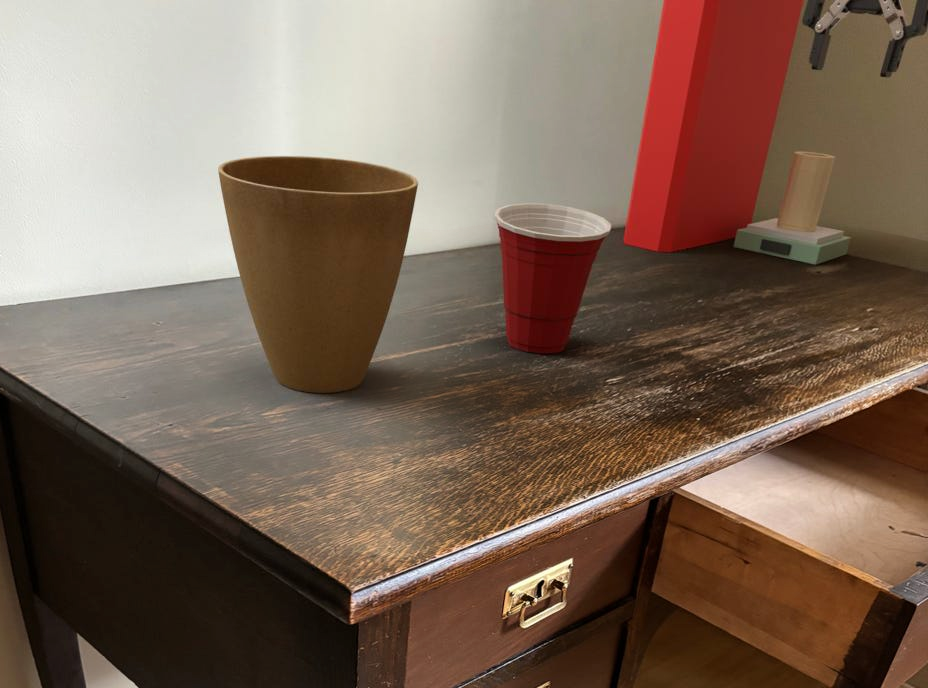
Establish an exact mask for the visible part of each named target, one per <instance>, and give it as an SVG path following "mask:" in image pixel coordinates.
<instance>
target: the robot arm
mask: <svg viewBox="0 0 928 688" xmlns="http://www.w3.org/2000/svg"><path fill="white" fill-rule="evenodd" d="M825 2H826V0H807V2H806V4H805V5H806V6H805V8H804V12H803V16H802V21H801V22H802V25H803V26H806V27H808V28H809V29H812V30H813V32H814V37H813V41H812V46H811V50H810V54H809V57H808V62H809V64H811V70H813V71H822V70H823V69H824V66H825V62H826V58H827V54H828V50H829V47H830V42H831V39H832V35H830V33H831V31H832V30H833V29H834V28H835V27H836V26H837V25H838V24H839V22H841V21H842V20H843V19H845V18H846V17H847V16H848V15H849V14H858V15H865V14H868V15H871V16H881V17H882V15H883V17H884V20H885V21H886V23H887V25H888V27H889V31H890V33H891V36H892V40H888V41H889V42H888V45H887V48H886V52H885V56H884V59H883V62H882V66H881V69H880V73H879V77H880V78H891V77H892V75H893V73H897V71H898V69H899V68H900V65H901V61H902V58H903V54H904V51H905V47H906V44H907V43H908V41H909V40H911V39H912V38H916V37H921V36H924V35H925V34H926V33H927V32H928V0H916V3H915V6H914V11H913V16H912V20H911V23H910V24H909V25H908V23H907V20H906V14H905V11H904V8H903V5H902V2H901V0H834V2H833V3H832V4H831V5H830V6H829V8H828V10H827V11H826V13H825V14H823V15H822V12H823V9H824V7H825ZM821 16H822V17H821Z"/></svg>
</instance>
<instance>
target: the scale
mask: <svg viewBox="0 0 928 688" xmlns="http://www.w3.org/2000/svg"><path fill="white" fill-rule="evenodd" d="M777 221H778V217H775V218H770V219H767V220H762V221H757V222H752V223H751V224H748V225H747V228H743V229H739V230H737V233H736V238H734V243H733V246H732V247H733V248H736V249H740V250H745V251H750V252H754V253H758V254H764V255H768V256H772V257H777V258H781V259H787V260H793V261H796V262H801V263H805V264H810V265H814V266H815V265H819V264H822V263H825V262H828V261H831V260H834V259H837V258H839V257H843V256H846V255H847V253H848V250H849V246H850V243H851V239H852V237H851V236H846V235H844V233H845V231H844V230H839V229H835V228H830V227H824V226H821V225H817V226H816V229H815V231H813V232H801V231H793V230H788V229H783V228H780V227H778V226H777Z"/></svg>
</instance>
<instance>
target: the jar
mask: <svg viewBox="0 0 928 688" xmlns="http://www.w3.org/2000/svg"><path fill="white" fill-rule="evenodd" d="M835 160H836V156H834V155H832V154H826V153H820V152H811V151H794V153H793V157H792V162H791V165H790V168H789V173H788V177H787V181H786V184H785V189H784V193H783V198H782V201H781V205H780V209H779V212H778V217H777V218H778V221H777V226H778V227H780V228H783V229H788V230H793V231H801V232H813V231H815V229H816V226H818V223H819V219H820V215H821V212H822V208H823V204H824V200H825V197H826V193H827V189H828V186H829V182H830V179H831V176H832V175H831V174H832V171H833V168H834V164H835Z"/></svg>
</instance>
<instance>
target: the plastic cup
mask: <svg viewBox="0 0 928 688" xmlns="http://www.w3.org/2000/svg"><path fill="white" fill-rule="evenodd" d="M493 218H494V221H495V222H496V225H497V229H498V236H499V239H500V250H501V264H502V265H501V266H502V285H503V286H502V288H503V307H504V309H505V312H504V313H505V335H506V337H507V339H506V340H507V344H508V345H509V346H510V347H512V348H514V349H516V350H520V351H522V352H527V353H534V354H557V353H560V352H562V351H564V350H565V348H566V345H567V343H568V341H569V338H570V335H571V331H572V328H573V325H574V321H575V318H576V317H577V315H578V312H579V309H580V305H581V302H582V299H583V296H584V293H585V290H586V286H587V283H588V280H589V276H590V273H591V271H592V268H593V264H594V262H595V261H596V258H597V255H598V251H600V248H601V246H602V243H603V242H604V240H605V239H606V237H607V236H609V235H610V231H611V228H612V223H611V222H609V221H608V220H607V219H606V218H605V217H603V216H600V215H598V214H596V213H593V212H591V211H587V210H583V209H579V208H576V207H571V206H565V205H558V204H550V203H528V202H526V203H525V202H524V203H516V204H515V203H514V204H507V205H505V206H502V207H498V208H496V210H495V212H494V214H493Z"/></svg>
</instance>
